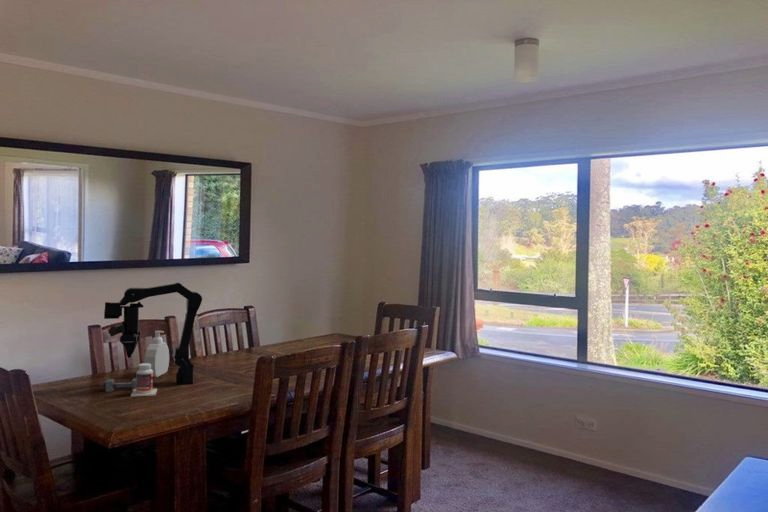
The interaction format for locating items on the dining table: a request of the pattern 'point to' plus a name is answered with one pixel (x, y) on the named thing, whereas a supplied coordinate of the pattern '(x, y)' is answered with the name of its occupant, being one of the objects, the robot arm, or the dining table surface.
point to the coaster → (144, 393)
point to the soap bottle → (157, 355)
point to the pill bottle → (144, 378)
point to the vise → (117, 385)
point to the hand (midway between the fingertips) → (130, 355)
